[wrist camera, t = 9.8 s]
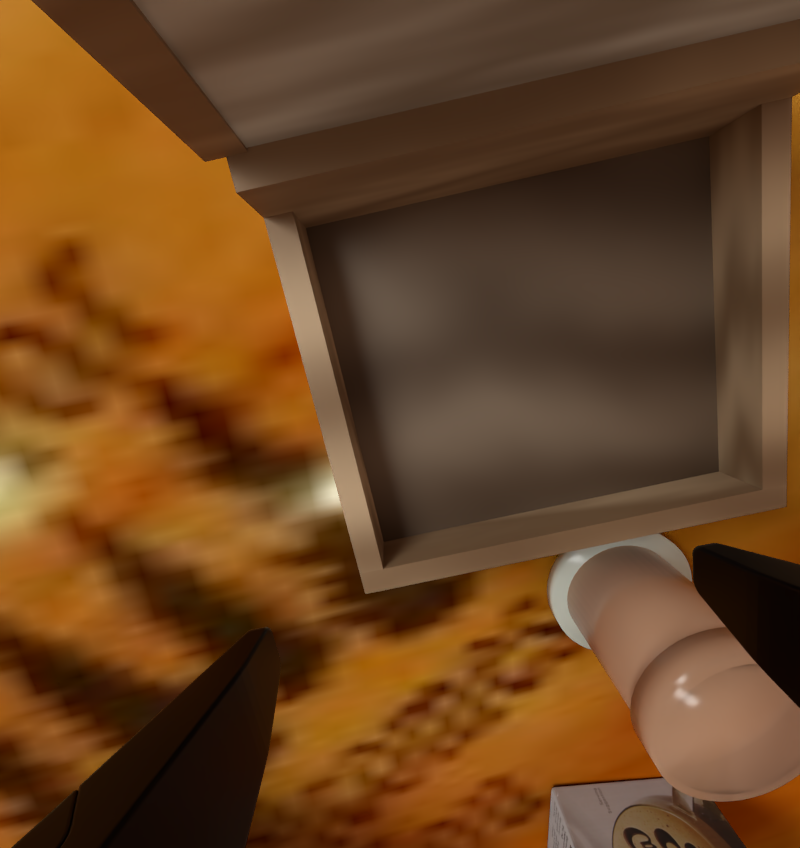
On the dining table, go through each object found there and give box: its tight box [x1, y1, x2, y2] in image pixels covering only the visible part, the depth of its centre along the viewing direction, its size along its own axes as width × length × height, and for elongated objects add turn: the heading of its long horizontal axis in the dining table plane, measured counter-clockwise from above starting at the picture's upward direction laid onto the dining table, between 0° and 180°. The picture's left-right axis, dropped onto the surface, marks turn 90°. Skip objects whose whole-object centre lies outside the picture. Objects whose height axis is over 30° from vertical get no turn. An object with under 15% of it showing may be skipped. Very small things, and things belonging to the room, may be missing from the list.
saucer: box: [547, 533, 692, 650], centre depth 20 cm, size 7×7×1 cm
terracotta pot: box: [567, 545, 800, 802], centre depth 16 cm, size 6×6×7 cm
